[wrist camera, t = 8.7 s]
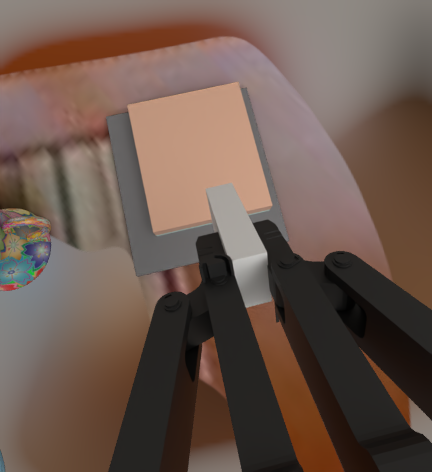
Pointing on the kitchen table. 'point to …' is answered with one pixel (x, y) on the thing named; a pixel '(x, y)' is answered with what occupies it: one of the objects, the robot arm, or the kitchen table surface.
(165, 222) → the tile
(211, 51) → the kitchen table surface
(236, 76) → the kitchen table surface
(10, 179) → the kitchen table surface
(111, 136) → the mat
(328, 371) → the robot arm
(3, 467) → the teapot
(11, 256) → the mug
